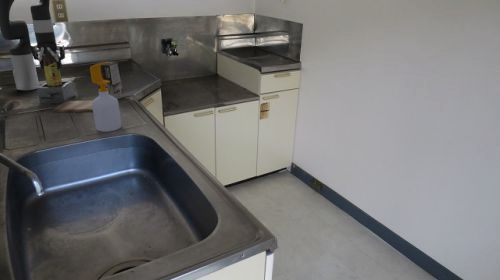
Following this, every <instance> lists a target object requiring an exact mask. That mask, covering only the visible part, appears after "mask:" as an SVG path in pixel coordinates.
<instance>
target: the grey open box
mask: <svg viewBox="0 0 500 280" xmlns="http://www.w3.org/2000/svg"><path fill="white" fill-rule="evenodd" d="M36 92H37V96H38V100H39V104H62V103H64V102H65V101H70V100H71V99H72V98H73V97H75V96H76V94H75V88H74V81H73V80H62V86H61V87H48V86H47V82H45V83H43V84H41V85H39V87H37V89H36Z"/></svg>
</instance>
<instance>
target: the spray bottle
mask: <svg viewBox="0 0 500 280" xmlns="http://www.w3.org/2000/svg"><path fill="white" fill-rule="evenodd" d="M103 62H104V61H103ZM106 62H107V61H106ZM106 62H104V63H100V62H99V63H100V64H97V63H95V64H96V65H95V64H94V65H93V64H92V65H90V67H89V72H90V76H91V82H92V83H93V84H97V85H99V86H100V88H101V89H99V88H98V96H97V97H96V98H94V99H93V100H92V101H93V103H92V107H93V111H92V112H93V119H94V125H95V129H96V130H97V131H98V132H102V133H106V132H107V133H108V132H114V131H117V130H119V129H121V128H122V120H121V119H122V118H121V112H120V105H119V99H116V98H114V97H113V96H110V95H109V92H108V89H107V88H105V85H106V83H110V81H108V80H103V79H102V75H101V69H100V66H101V65H103V64H106ZM99 86H98V87H99Z"/></svg>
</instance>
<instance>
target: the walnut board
mask: <svg viewBox="0 0 500 280" xmlns="http://www.w3.org/2000/svg"><path fill="white" fill-rule="evenodd" d="M92 103H93V100H68V101H65V102H64V103H60V105H58V106H56V108H54V112H55V113H67V112H69V113H72V112H78V113H79V112H81V113H83V112H87V113H88V112H93V107H92Z"/></svg>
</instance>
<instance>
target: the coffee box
mask: <svg viewBox="0 0 500 280" xmlns="http://www.w3.org/2000/svg"><path fill="white" fill-rule="evenodd" d="M104 62H106V64H103V65H101V66H100V69H101V75H102V79H103V80H108V81H110V83H106V85H105V88H107V89H108V92H109V95H110V96H113V97H114V98H116V99H117V100H119V99H122V98H124V97H125V96H124V91H123V90H124V88H123V87H124V86H123V81H122V75H121V74H122V73H121V67H120V62H114V61H104V60H103V61H101V62H97V63H95V64H94V65H96V64H100V63H104ZM97 85H98V84H97ZM99 89H101V88H100V86H99V85H98V90H99Z"/></svg>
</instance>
